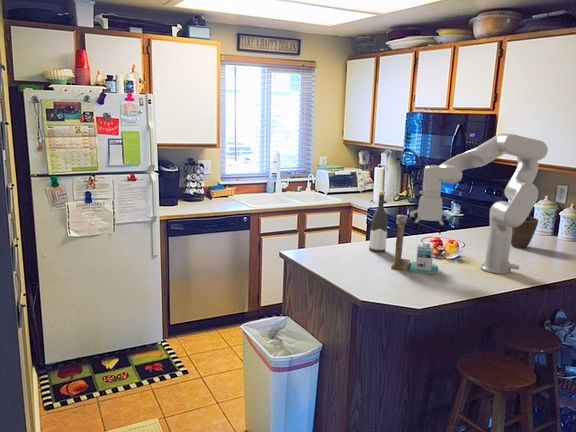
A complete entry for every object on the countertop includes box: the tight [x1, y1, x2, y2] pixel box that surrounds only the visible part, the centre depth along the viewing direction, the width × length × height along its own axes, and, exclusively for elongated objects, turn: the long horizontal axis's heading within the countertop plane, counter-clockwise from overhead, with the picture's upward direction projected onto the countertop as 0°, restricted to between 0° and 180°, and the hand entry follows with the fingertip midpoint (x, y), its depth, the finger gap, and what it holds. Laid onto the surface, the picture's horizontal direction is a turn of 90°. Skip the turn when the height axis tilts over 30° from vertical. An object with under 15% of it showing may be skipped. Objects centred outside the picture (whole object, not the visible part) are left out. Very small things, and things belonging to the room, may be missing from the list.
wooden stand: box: [390, 214, 411, 272], centre depth 223 cm, size 7×13×23 cm, turn 161°
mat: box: [409, 261, 438, 276], centre depth 223 cm, size 11×13×1 cm
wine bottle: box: [368, 190, 389, 254], centre depth 246 cm, size 8×8×30 cm
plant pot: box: [510, 215, 539, 250], centre depth 267 cm, size 15×15×16 cm
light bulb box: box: [415, 240, 434, 271], centre depth 221 cm, size 11×7×11 cm, turn 166°
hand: (428, 232), depth 219 cm, fingers open, 9 cm apart
